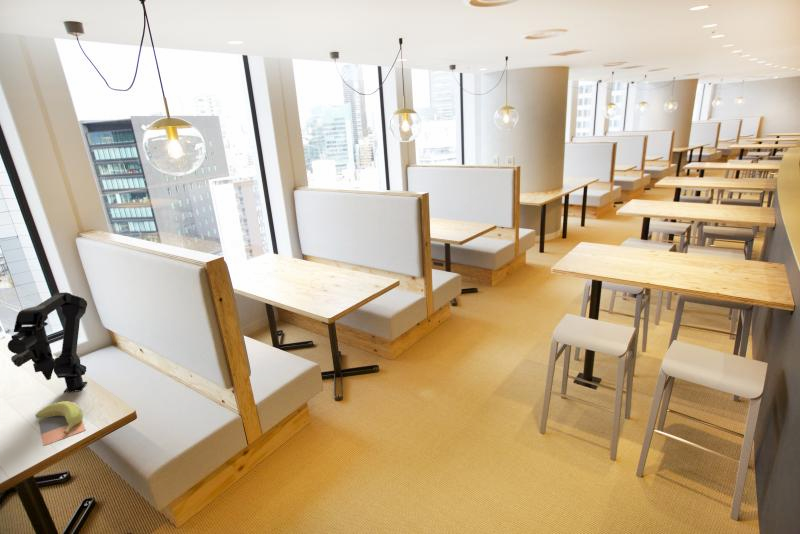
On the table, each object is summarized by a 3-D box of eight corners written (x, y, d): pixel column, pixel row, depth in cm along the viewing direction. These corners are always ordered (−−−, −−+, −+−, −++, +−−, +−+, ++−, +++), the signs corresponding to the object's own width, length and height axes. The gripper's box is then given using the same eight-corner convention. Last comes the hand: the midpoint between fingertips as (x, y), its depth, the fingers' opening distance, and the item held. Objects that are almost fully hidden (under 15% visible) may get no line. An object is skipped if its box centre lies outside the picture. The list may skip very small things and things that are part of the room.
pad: (41, 434, 155) (41, 434, 155) (81, 420, 162) (81, 419, 162) (43, 445, 149) (43, 445, 149) (85, 430, 157) (85, 429, 157)
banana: (72, 389, 169) (80, 418, 155) (80, 398, 172) (88, 428, 158) (31, 410, 162) (35, 442, 148) (39, 419, 165) (44, 452, 151)
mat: (38, 421, 162) (38, 421, 162) (77, 408, 169) (77, 408, 169) (41, 434, 155) (41, 434, 155) (81, 420, 162) (81, 419, 162)
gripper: (8, 339, 164) (19, 375, 168) (11, 357, 151) (22, 395, 155) (45, 330, 171) (55, 365, 175) (51, 346, 158) (61, 384, 162)
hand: (48, 377), depth 167 cm, fingers open, 4 cm apart
